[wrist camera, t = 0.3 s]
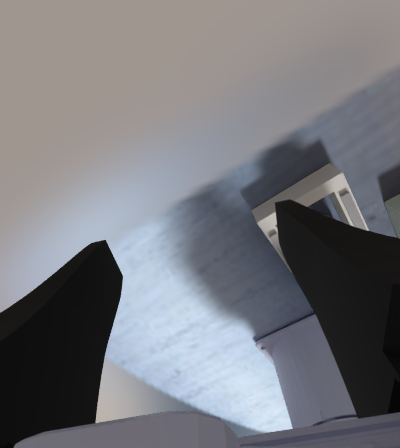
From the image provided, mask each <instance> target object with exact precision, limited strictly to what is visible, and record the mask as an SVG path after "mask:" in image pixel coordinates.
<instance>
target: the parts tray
mask: <svg viewBox="0 0 400 448" xmlns="http://www.w3.org/2000/svg"><path fill="white" fill-rule="evenodd" d="M384 204H385V206H386V209H387V211H388V214H389V216H390V219H391V222H392V224H393V227H394V229H395V232H396V234H397V237H398V238H400V194H398V195H396V196H395V197H393V198H391V199H389V200H387V201H385V202H384Z"/></svg>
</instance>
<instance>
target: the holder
mask: <svg viewBox="0 0 400 448" xmlns="http://www.w3.org/2000/svg"><path fill="white" fill-rule="evenodd" d="M327 195H329V196H330V198H331V200H332V202H333V204H334V206H335V208H336V210H337V212H338V214H339V216H340V218H341V220H342V222H343V223H346V224H348V225H351V226H354V227H357V228H360V229H364V230H367V231H369V230H368V228H367V225H366V223H365V221H364V219H363V216H362V214H361V212H360V210H359V208H358V205H357V203H356V201H355V199H354V197H353V194H352V192H351V190H350V188H349V185H348V183H347V181H346V179H345V177H344V174H343V172H341V171H340V170H339V169H337V168H336V167H334V166H333V165H332V164H330V163H328V164H327V165H325V166H323V167H322V168H320V169H319V170H317V171H315V172H314V173H312V174H310V175H309V176H307V177H305V178H304V179H302V180H300V181H299V182H297V183H295V184H294V185H292V186H290V187H289V188H287V189H286V190H284V191H282V192H281V193H279V194H277V195H276V196H274V197H272V198H271V199H269V200H267V201H266V202H264V203H262V204H261V205H259V206H258V207H256V208H254V209H253V210H251V211H252V213H253V215H254V218H255V220H256V222H257V224H258V225H259V227H260V228H261V230H262V231H263V232H264V234H265V235H266V237H267V238H268V240H269V241H270V243H271V244H272V245H273V247H274V248H275V250H276V251H277V253H278V254H279V256H280V257H281V258H282V260H283V261H284V263H285V264H286V266H287V267H288V269H289V270H290V268H289V266H288V265H287V263H286V260H285V258H284V255H283V253H282V250H281V248H280V245H279V239H278V229H277V220H276V210H275V202H280V201H284V200H289V199H291V200H293V201H295V202H298V203H300V204H302V205H304V206H306V207H308V206H310V205H311V204H313V203H315V202H317V201H318V200H320V199H322V198H324V197H325V196H327ZM290 271H291V270H290ZM291 273H292V272H291ZM293 276H294V275H293Z"/></svg>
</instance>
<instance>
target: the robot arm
mask: <svg viewBox="0 0 400 448" xmlns="http://www.w3.org/2000/svg"><path fill="white" fill-rule="evenodd" d="M275 210H276V220H277V229H278V239H279V245H280V248H281V250H282V253H283V255H284V258H285V260H286V263H287V265H288V266H289V268H290V270H291V272H292V274H293V275H294V277H295V279H296V281H297V282H298V284H299V286H300V288H301V289H302V291H303V293H304V294H305V296H306V298H307V300H308V301H309V303H310V305H311V307H312V309H313V311H314V313H315V314H314V315H311V316H309V317H307V318H305V319H303V320H301V321H299V322H296V323H294V324H292V325H290V326H288V327H286V328H283V329H281V330H279V331H277V332H275V333H273V334H271V335H268V336H266V337H264V338H262V339H260V340H258V341H256V347H257V348H258V349H259V350H260V351H261V352H262V353H263V354H264V355H265V356H266V357H267V359H268V360H269V361H270V362H271V363H272V364H273V365H274V366H275V369H276V372H277V376H278V379H279V382H280V386H281V389H282V393H283V396H284V400H285V403H286V406H287V410H288V413H289V417H290V420H291V424H292V427H293V429H289V430H283V431H276V432H270V433H264V434H257V435H251V436H244V437H237V435H236V434H235V433H234V431H232V430H231V428H230V427H229V426H228V425H227V424H225V422H224V421H222V420H221V419H220V418H219V417H216V416H212V415H209V414H206V413H202V412H199V411H166V412H160V413H154V414H148V415H143V416H136V417H130V418H124V419H118V420H113V421H106V422H100V423H95V420H96V412H97V402H98V396H99V388H100V381H101V374H102V369H103V363H104V357H105V352H106V348H107V344H108V340H109V337H110V333H111V330H112V326H113V323H114V319H115V316H116V312H117V308H118V305H119V301H120V297H121V290H122V281H123V275H122V273H121V271H120V269H119V267H118V265H117V263H116V261H115V259H114V257H113V255H112V252H111V250H110V248H109V246H108V244H107V242H106V240H103V241H99V242H94V243H91V244H90V245H88V246H87V247H85V248H84V249H83V250H82V251H80V252H79V253H78V254H77V255H75V256H74V257H73V258H72V259H71V260H70V261H68V262H67V263H66V264H65V265H64V266H63V267H61V268H60V269H59V270H58V271H57V272H55V273H54V274H53V275H52V276H50V277H49V278H48V279H47V280H45V281H44V282H43V283H42V284H41V285H39V286H38V287H37V288H36V289H34V290H33V291H32V292H30V293H29V294H28V295H26V296H25V297H23V298H22V299H21V300H19V301H18V302H16V303H15V304H13V305H12V306H11V307H9V308H7V309H6V310H4V311H3V312H1V313H0V448H400V238H395V237H390V236H386V235H382V234H378V233H374V232H371V231H367V230H364V229H360V228H357V227H354V226H351V225H348V224H346V223H343V222H340V221H338V220H335V219H333V218H330V217H328V216H326V215H323V214H321V213H319V212H317V211H314V210H312V209H310V208H308V207H306V206H304V205H302V204H300V203H298V202H295V201H293V200H291V199H289V200H284V201H280V202H275Z"/></svg>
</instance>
